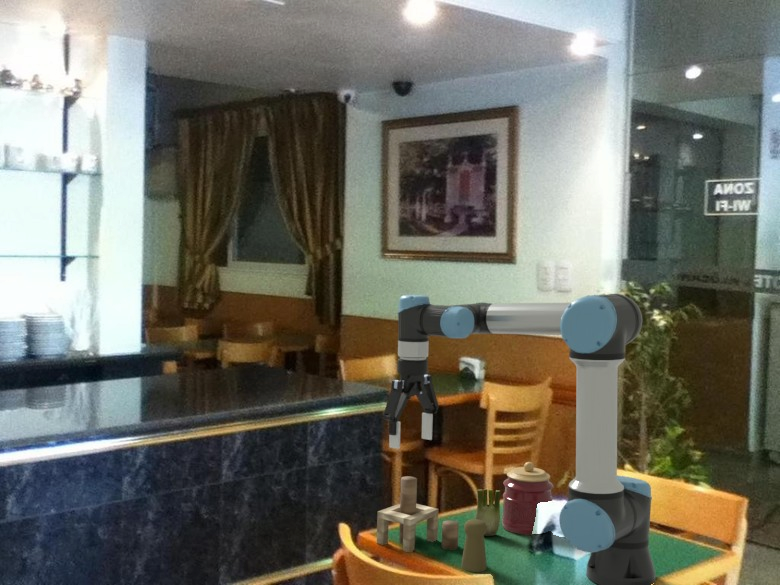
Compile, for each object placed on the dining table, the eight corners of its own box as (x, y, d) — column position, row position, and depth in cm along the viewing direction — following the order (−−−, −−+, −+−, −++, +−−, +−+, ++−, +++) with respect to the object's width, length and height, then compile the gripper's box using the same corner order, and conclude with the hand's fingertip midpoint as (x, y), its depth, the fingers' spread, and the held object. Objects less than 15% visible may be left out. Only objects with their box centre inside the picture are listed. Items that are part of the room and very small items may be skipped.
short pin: (461, 546, 234) (461, 522, 234) (452, 550, 231) (452, 526, 230) (447, 543, 236) (448, 519, 236) (438, 547, 233) (439, 523, 233)
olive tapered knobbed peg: (485, 572, 216) (487, 525, 216) (459, 570, 218) (460, 523, 217) (488, 563, 222) (490, 517, 222) (462, 561, 224) (464, 515, 223)
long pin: (418, 541, 237) (420, 478, 236) (409, 545, 234) (410, 481, 233) (405, 538, 239) (407, 475, 238) (395, 542, 236) (397, 478, 235)
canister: (492, 523, 253) (494, 458, 252) (533, 518, 259) (536, 454, 258) (519, 538, 241) (521, 470, 240) (561, 532, 247) (564, 466, 246)
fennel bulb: (500, 534, 244) (502, 488, 243) (492, 539, 240) (494, 493, 239) (480, 530, 247) (481, 485, 246) (472, 535, 243) (473, 489, 242)
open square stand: (437, 540, 238) (438, 508, 238) (409, 552, 229) (410, 519, 228) (405, 531, 244) (406, 501, 244) (376, 543, 235) (377, 511, 234)
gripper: (429, 352, 245) (427, 433, 247) (369, 361, 226) (367, 449, 227) (453, 354, 241) (451, 437, 242) (394, 364, 221) (392, 454, 222)
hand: (411, 443), depth 235 cm, fingers open, 13 cm apart
